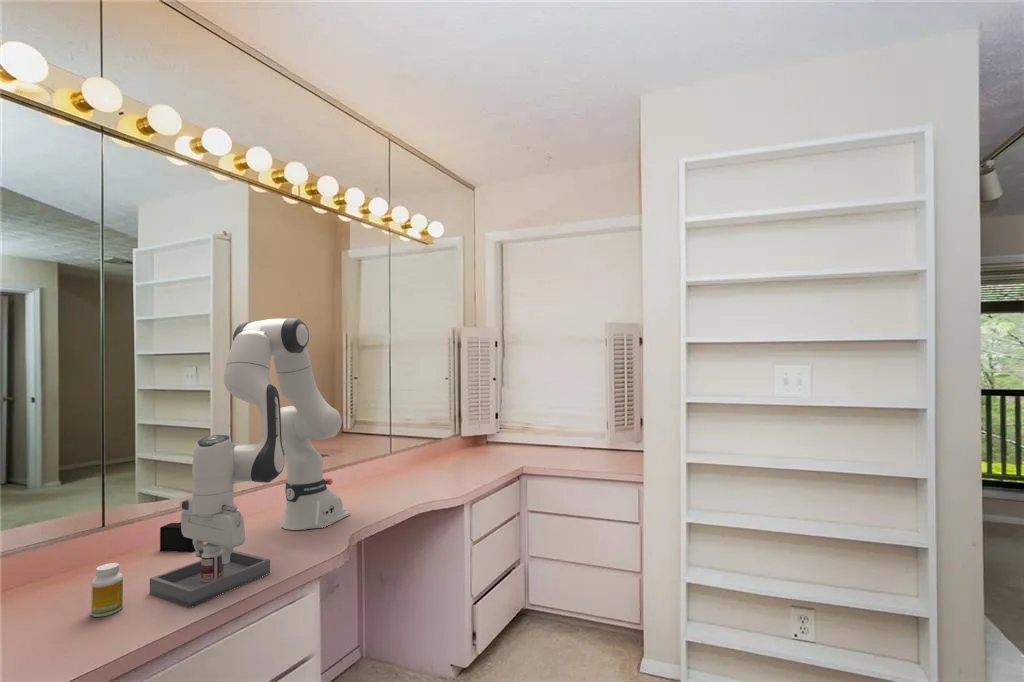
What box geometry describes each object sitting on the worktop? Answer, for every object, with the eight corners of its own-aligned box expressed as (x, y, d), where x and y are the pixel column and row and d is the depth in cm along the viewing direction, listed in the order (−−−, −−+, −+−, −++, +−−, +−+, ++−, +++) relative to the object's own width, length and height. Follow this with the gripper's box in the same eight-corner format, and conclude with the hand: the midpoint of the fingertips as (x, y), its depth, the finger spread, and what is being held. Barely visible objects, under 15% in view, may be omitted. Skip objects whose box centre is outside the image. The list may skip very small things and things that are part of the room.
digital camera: (206, 545, 151) (207, 521, 151) (193, 552, 146) (193, 527, 146) (174, 544, 152) (174, 521, 152) (159, 551, 147) (160, 526, 147)
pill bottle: (218, 573, 128) (219, 539, 128) (226, 578, 125) (227, 543, 125) (197, 579, 124) (198, 544, 125) (205, 584, 121) (205, 549, 122)
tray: (230, 562, 137) (230, 549, 137) (270, 573, 130) (270, 559, 130) (149, 593, 120) (149, 578, 120) (190, 607, 112) (190, 591, 112)
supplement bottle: (125, 610, 111) (125, 565, 112) (93, 620, 107) (94, 573, 108) (119, 603, 115) (120, 559, 115) (88, 612, 111) (89, 566, 111)
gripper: (252, 504, 123) (252, 562, 123) (201, 495, 133) (200, 549, 132) (227, 511, 118) (227, 572, 117) (175, 501, 127) (175, 557, 127)
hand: (212, 559), depth 125 cm, fingers open, 8 cm apart
